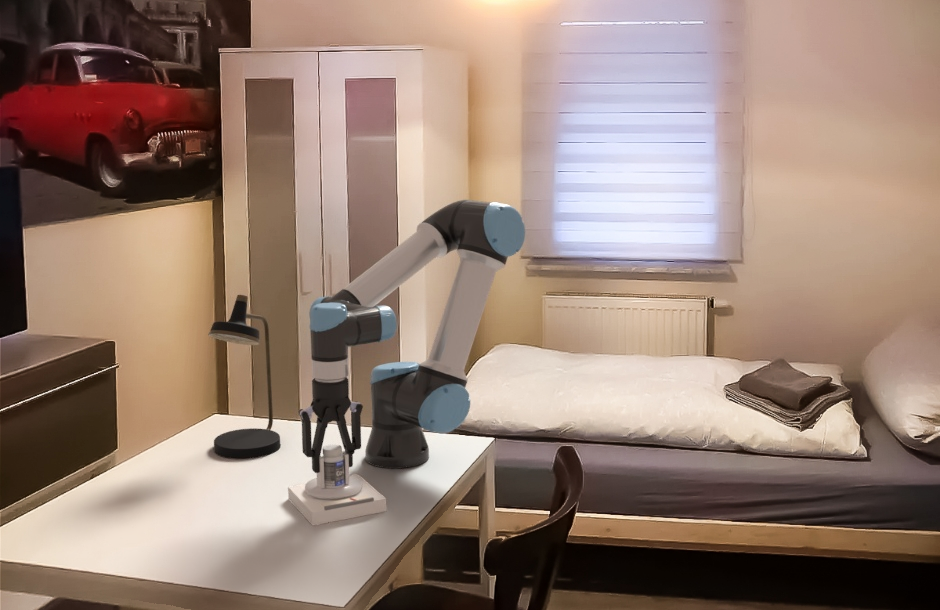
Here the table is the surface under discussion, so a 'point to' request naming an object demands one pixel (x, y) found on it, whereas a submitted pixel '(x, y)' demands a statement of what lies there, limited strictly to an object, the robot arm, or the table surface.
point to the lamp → (266, 440)
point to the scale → (336, 500)
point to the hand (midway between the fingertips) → (333, 483)
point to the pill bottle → (333, 466)
